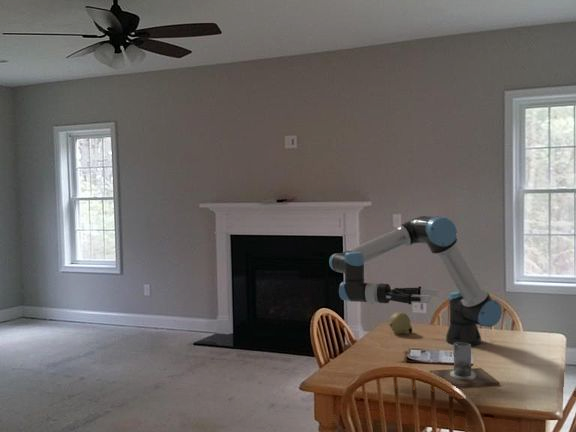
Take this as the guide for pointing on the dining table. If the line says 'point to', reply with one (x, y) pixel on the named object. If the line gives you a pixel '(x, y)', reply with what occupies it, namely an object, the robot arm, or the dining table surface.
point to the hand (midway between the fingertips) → (434, 296)
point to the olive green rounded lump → (400, 323)
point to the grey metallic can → (462, 359)
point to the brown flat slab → (467, 378)
